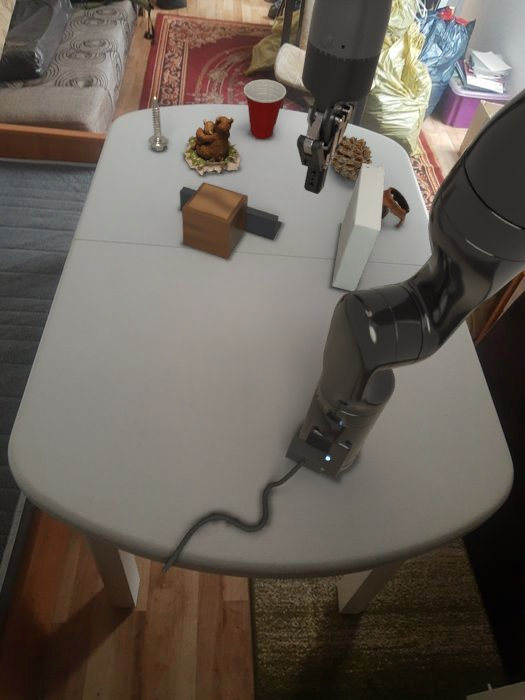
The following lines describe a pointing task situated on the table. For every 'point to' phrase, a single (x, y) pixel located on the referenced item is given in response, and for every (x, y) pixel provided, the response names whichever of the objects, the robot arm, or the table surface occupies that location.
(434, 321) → the robot arm
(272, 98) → the plastic cup
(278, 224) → the stop rail
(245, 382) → the table surface
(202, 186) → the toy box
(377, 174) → the skincare box
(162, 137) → the screw
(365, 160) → the pine cone
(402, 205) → the brown round legged piece
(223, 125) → the bear figurine
